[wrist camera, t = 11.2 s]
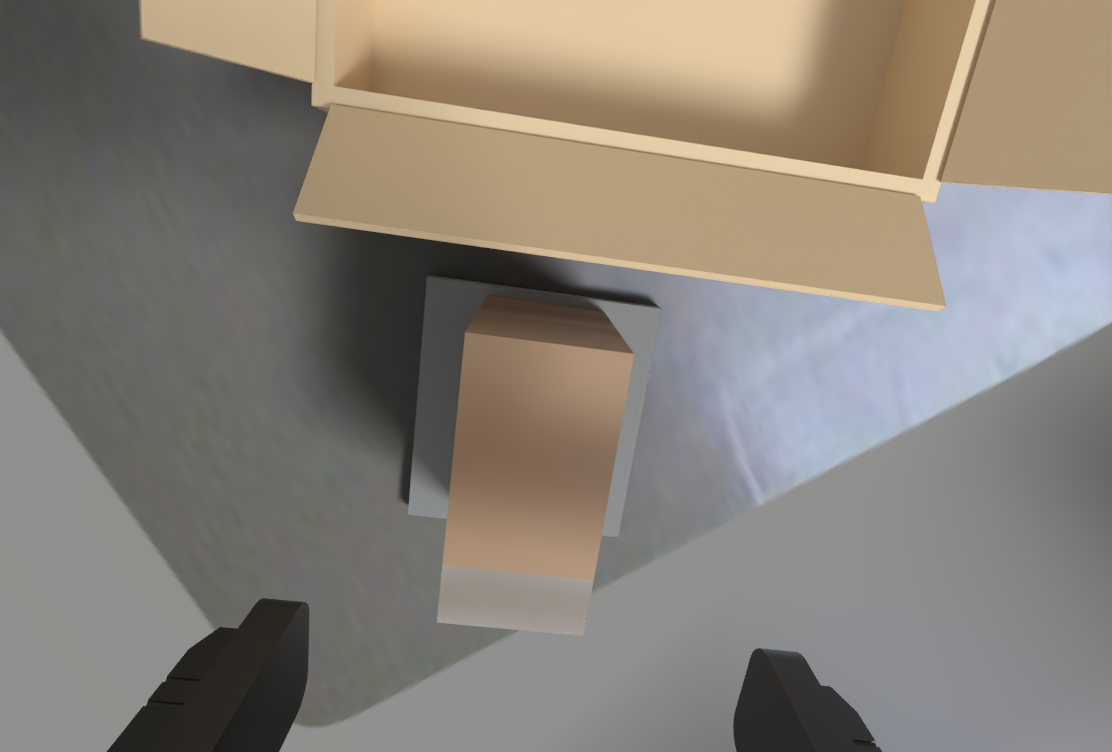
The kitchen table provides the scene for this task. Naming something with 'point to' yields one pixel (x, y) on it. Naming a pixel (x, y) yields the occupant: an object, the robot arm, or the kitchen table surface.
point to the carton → (680, 123)
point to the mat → (441, 374)
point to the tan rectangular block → (532, 465)
